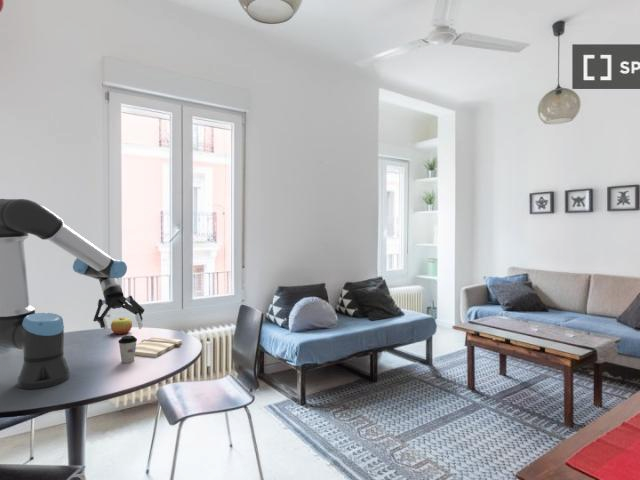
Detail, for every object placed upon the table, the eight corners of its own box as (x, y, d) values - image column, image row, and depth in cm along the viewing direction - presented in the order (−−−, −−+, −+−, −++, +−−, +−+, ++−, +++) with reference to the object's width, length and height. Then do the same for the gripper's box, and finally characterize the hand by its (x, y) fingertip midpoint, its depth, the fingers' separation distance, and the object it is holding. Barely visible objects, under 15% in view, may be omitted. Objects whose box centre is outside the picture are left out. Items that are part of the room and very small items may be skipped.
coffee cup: (114, 363, 155) (114, 338, 155) (127, 357, 162) (127, 334, 162) (128, 365, 153) (128, 340, 153) (141, 359, 160) (141, 335, 160)
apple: (106, 334, 194) (106, 318, 194) (121, 329, 204) (121, 314, 203) (121, 336, 191) (121, 320, 191) (136, 331, 200) (136, 316, 200)
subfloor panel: (159, 357, 163) (159, 353, 162) (120, 353, 167) (120, 349, 166) (185, 343, 182) (185, 339, 182) (149, 340, 186) (149, 336, 186)
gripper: (138, 291, 184) (151, 329, 174) (78, 298, 166) (89, 341, 156) (142, 282, 180) (156, 320, 170) (82, 288, 162) (94, 331, 152)
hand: (124, 330), depth 163 cm, fingers open, 13 cm apart
